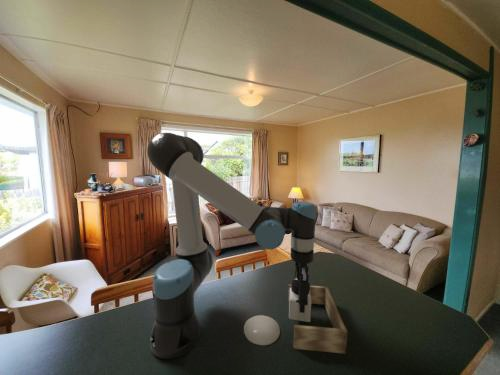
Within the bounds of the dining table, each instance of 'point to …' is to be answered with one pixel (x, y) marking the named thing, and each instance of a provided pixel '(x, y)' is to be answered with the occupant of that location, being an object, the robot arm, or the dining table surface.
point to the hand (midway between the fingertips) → (299, 310)
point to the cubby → (322, 336)
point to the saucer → (261, 330)
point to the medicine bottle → (293, 304)
